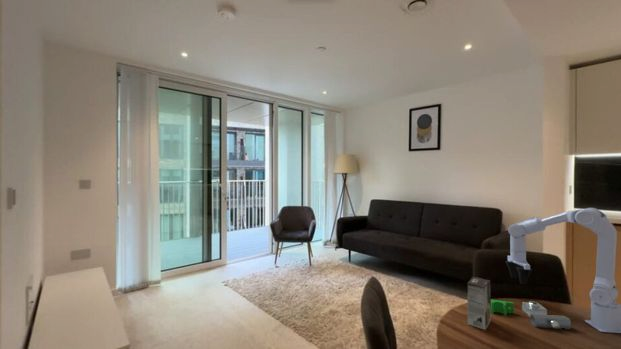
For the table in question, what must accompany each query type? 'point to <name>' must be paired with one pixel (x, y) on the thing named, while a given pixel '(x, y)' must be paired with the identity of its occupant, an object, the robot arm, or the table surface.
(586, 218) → the robot arm
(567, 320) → the end block
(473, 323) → the coffee box
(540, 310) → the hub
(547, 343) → the table surface
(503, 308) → the pipe clamp
